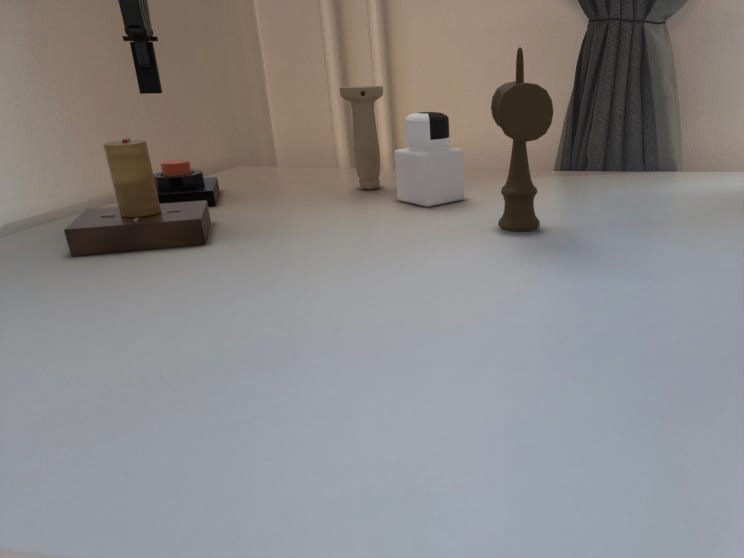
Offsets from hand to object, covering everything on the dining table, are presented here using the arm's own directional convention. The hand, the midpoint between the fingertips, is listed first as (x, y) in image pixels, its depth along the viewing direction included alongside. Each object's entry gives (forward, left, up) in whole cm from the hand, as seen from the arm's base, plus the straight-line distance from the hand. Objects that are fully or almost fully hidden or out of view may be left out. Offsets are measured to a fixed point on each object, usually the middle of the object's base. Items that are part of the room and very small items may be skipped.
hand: (151, 93), depth 95 cm
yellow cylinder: (-1, -23, -12) cm, 26 cm away
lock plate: (-1, -23, -15) cm, 27 cm away
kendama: (+42, -35, -15) cm, 57 cm away
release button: (+1, 0, -12) cm, 12 cm away
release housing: (+1, 0, -15) cm, 15 cm away
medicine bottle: (+36, -14, -15) cm, 42 cm away
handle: (+29, -1, -15) cm, 33 cm away
